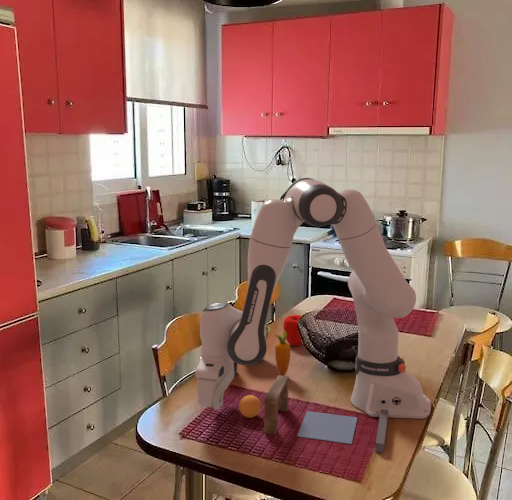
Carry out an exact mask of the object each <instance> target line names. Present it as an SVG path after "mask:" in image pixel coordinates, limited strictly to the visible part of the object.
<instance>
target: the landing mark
mask: <svg viewBox="0 0 512 500" xmlns="http://www.w3.org/2000/svg"><path fill="white" fill-rule="evenodd" d="M357 422H358V417H356V416H348V415H341V414H334V413H325V412H318V411H317V412H316V411H312V410H311V411H309V410H307V411H306V412H305V415H304V418H303V420H302V422H301V425H300V427H299V430H298V432H297V434H296V437H297V438H304V439H311V440H318V441H326V442H333V443H339V444H346V445H352V443H353V440H354V435H355V431H356V426H357Z"/></svg>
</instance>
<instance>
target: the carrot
mask: <svg viewBox="0 0 512 500" xmlns="http://www.w3.org/2000/svg"><path fill="white" fill-rule="evenodd" d="M275 337H276V338H277V339H278V341H279V342H276V343H275V345H274V351H275V352H274V353H275V363H276V367H277V370H278V373H279V374H280V375H281V376H286V374H287V371H288V368H289V365H290V360H291V345H290V344H289V343H288V342H287V340H286V337H287V335H286V331H284V330H283V335H282V336H281V335H280V334H275Z"/></svg>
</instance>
